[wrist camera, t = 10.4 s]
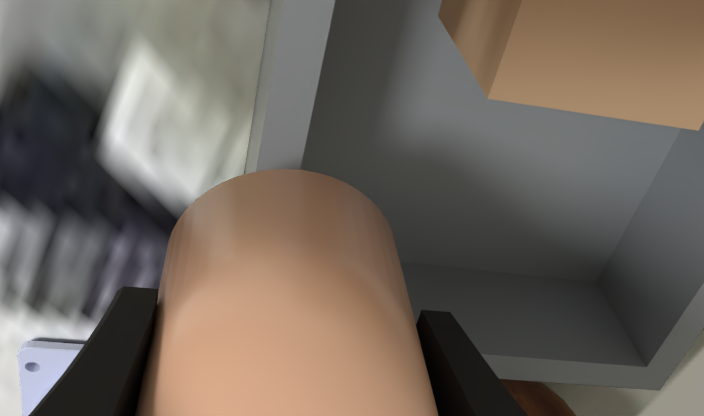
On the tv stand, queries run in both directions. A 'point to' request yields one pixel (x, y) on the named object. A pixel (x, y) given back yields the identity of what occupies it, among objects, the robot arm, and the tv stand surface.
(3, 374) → the tv stand surface
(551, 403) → the wooden figurine
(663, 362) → the tote
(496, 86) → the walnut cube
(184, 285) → the terracotta cylinder
